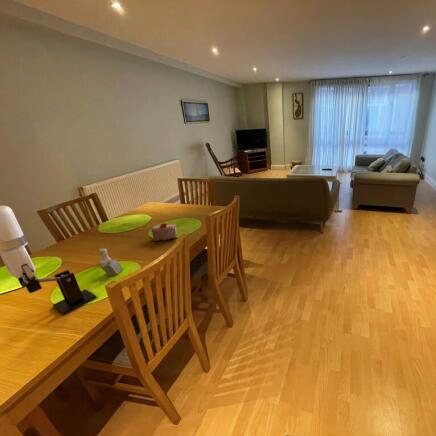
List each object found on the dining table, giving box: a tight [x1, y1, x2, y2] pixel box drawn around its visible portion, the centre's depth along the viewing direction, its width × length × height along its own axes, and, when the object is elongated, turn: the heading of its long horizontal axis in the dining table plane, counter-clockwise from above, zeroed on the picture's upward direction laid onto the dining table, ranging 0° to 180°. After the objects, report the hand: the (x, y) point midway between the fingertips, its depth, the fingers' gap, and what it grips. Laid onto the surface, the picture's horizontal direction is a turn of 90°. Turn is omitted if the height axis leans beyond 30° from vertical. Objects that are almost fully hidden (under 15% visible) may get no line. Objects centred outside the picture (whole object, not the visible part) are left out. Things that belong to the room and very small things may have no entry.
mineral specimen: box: [98, 259, 123, 277], centre depth 115 cm, size 7×9×8 cm
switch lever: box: [22, 274, 68, 287], centre depth 89 cm, size 13×3×3 cm, turn 152°
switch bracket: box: [52, 269, 97, 316], centre depth 95 cm, size 11×9×14 cm
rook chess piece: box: [98, 247, 112, 261], centre depth 124 cm, size 4×4×8 cm
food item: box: [151, 222, 178, 242], centre depth 150 cm, size 14×8×10 cm, turn 108°
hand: (31, 287), depth 85 cm, fingers open, 6 cm apart
